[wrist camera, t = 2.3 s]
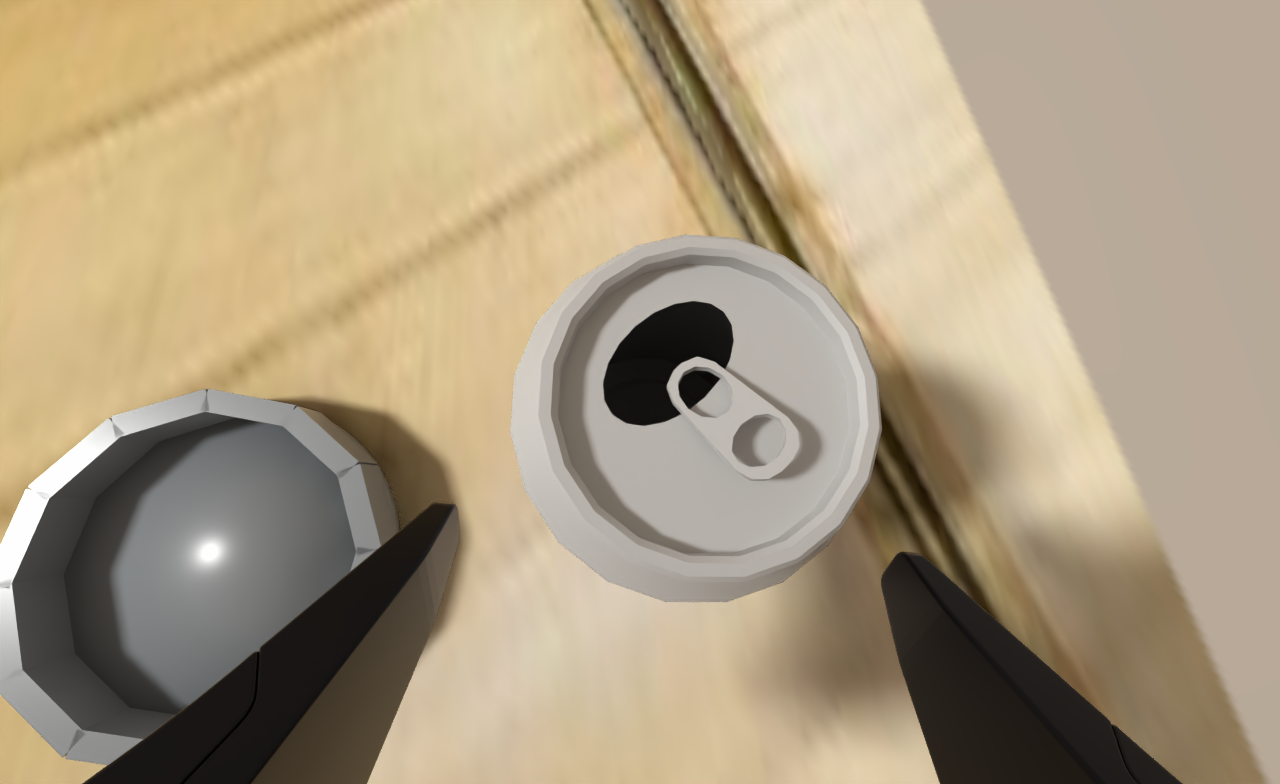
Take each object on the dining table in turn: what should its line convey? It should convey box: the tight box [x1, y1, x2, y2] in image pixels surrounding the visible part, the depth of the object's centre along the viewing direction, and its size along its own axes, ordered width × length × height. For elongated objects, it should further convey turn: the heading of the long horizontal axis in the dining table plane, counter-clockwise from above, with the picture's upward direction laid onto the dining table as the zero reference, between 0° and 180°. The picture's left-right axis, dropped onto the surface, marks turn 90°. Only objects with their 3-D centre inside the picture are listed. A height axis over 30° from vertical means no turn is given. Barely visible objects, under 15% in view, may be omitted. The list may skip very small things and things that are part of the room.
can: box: [510, 235, 882, 602], centre depth 14 cm, size 8×8×12 cm
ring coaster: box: [0, 389, 400, 765], centre depth 17 cm, size 12×12×2 cm
